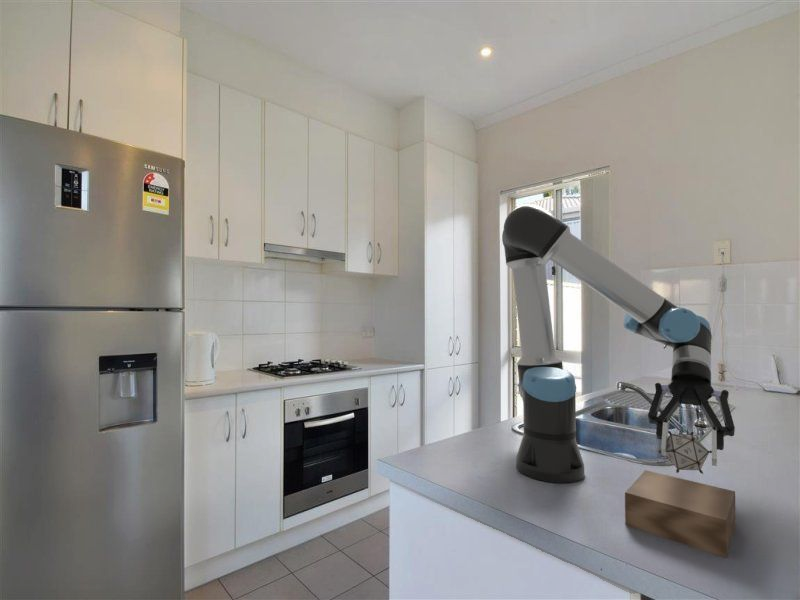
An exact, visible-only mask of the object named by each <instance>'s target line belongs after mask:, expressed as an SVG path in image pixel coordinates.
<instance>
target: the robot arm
mask: <svg viewBox="0 0 800 600" xmlns="http://www.w3.org/2000/svg"><path fill="white" fill-rule="evenodd" d="M501 237H502V239H501V240H502V241H501V242H502V245H503V248H504V256H505V264H506V266H507V267H508V268H510V269H511V270H512V277H513V278H512V279H513V286H514V295H515V296H514V297H515V304H516V312H517V323H518V333H519V340H520V341H519V342H520V351H521V357H520V359H518V360H517V363H516V365H517V372H518V386H517V387H518V393H519V395H520V397H521V400H522V402H523V403H522V405H523V407H522V408H523V411H522V412H523V414H522V415H523V436H522V439H521V442H520V445H519V448H518V451H517V453H516V456H515V459H516V460H515V463H516V464H515V466H516V469H517V470H518V472H520V473H522V475H524V476H526V477H529V478H532V479H535V480H538V481H544V482H548V483H560V484H561V483H562V484H563V483H574V482H578V481H580V480H582V479H583V478H584V477H585V463H584V460H583V457H582V453H581V451H580V448H579V445H578V443H577V435H576V431H577V429H576V424H577V423H576V420H577V419H576V417H577V416H576V406H577V405H576V393H577V384H576V378H575V376H574V375H573V374H572V372H570V371H568V370H566V369H564V367H563V360H562V358H560V357H559V356H558V355H557V353H556V350H555V341H554V333H553V332H554V331H553V324H552V314H551V305H550V297H549V290H548V289H549V287H548V281H547V279H548V278H547V271H546V265H547V264H548V262H549V261H550V260H551V261H552V262H553V263H554V264H556V265H557V266H559V267H561V269H563V270H565V271H566V272H568V274H571V275H572V276H573V277H574V278H576V279H578V280H579V281H580V282H581V283H583V284H584V285H585V286H587V287H589V289H591V290H593V291H594V292H596V293H597V294H599V295H600V296H601V297H603V299H606V300H607V301H608V302H609V303H611V304H613V306H615V307H616V308H618V309H620V310H621V311H623V312H624V313H625V317H624V319H623V328H625V329H626V330H627V331H629V332H630V331H631V332H632V333H634V334H635V335H636V334H637V335H639V336H642V337H644V338H647V339H649V340H653V341H654V342H658V343H660V344H662V345H664V346H668V347H670V348H672V349H673V350H672V363H671V365H672V367H671V381H670V382H669V383H668V384H661V383H660V382H656V383H655V384H654V386H655V387H654V388H655V393H654V396H653V399H652V402H651V405H650V407H649V411H648V414H647V419H648V423H649V424H652V425H653V424H654V425H655V426H656V430H655V435H656V439H658V440H661V444H660V451H661V453H660V454H661V456H663V457H666V448H667V440H668V434H669V433H668V431H669V430H668V429H669V427H668V422H669V420H670V419H671V417H673V415H674V414H675V412H676V411H677V409H678V408H680V406H682V405H692V406H694V407H695V406H697V407H699V408H700V410H701V411H702V413H703V414H704V415H705V418H706V419H707V421H708V423H709V425H710V427H711V428H712V429H711V450H712V453H711V466H714V467H717V466H718V464H717V463H718V454H717V452H718V451H719V450H720V451H723V450H724V449H725V448H724V447H725V442H724V441H725V440H724V439H725V438H724V437H726V436H727V437H734V436H735V431H736V426H735V424H734V420H733V416H732V413H731V409H730V405H729V391H728V390H726V389H723V390H721V391H720V390H719V391H718V390H715V389H714V388H713V387H712V355H711V354H712V337H713V334H712V330H711V324H710V322H709V321H708V320H707V319H706V318H705V317H703V316H700V315H697V314H696V313H695V312H693V311H692V310H691V309H688V308H684V307H679V306H676V305H675V304H674V303H672V302H671V301H669V300H667V299H666V298H665V297H663V296H662V295H661V294H659V293H657V292H656V291H655V290H653V288H650V286H648V285H646V284H645V283H643V282H642V281H640V280H639V279H637V278H636V277H635V276H633V275H631V274H630V273H629V272H628V271H626V270H624V269H623V268H621V267H620V266H619V265H617V264H616V263H614V262H613V261H611V260H610V259H608V258H607V257H605V256H604V255H603V254H601V253H600V252H598V251H597V250H595V248H593V247H591V246H590V245H589V244H587V243H585V242H584V241H582V240H581V239H580V238H578V237H577V236H576V235H574V234H572V232H571V228H570V226H569V225H568V224H566V223H565V222H563V221H562V220H560V219H559V218H557V217H556V216H555V215H554V214H552V213H550V212H549V211H547V210H546V209H545V208H542V207H541V206H538V205H535V204H524V205H520V206H518V207H516V208H515V209H513V210H512V211H511V212H510V213H508V215H507V216H506V218H505V221H504V223H503V230H502V236H501ZM667 392H669V393H670V394H671V395H672V397H671V399H670V400H669V402H668V403H667V405H665V407H664V409H663V410H662V411H661V413H660V414H659V411H660V407H661V405H662V401H663V398H664V397H663V396H665V395H666V394H667ZM712 397H714V398H715V400H716V401H717V402H718V403H719V407H720V412H721V415H722V420H723V423H724V425H722V423H721V422H720V420H719V418H718V417H717V415H716V413H715V412H714V410H713V407H711V405H710V402H709V400H710V399H711V398H712ZM658 414H659V415H658ZM717 450H718V451H717Z"/></svg>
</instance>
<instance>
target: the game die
mask: <svg viewBox="0 0 800 600" xmlns="http://www.w3.org/2000/svg"><path fill="white" fill-rule="evenodd" d="M668 434H669V436H668V437H667V448H666V456H665V457H666V458H667V459H668V461H670V462H671V464H673V466H674V467H675V468H676V469H675V472H676V474H678V473H679V472H680V470H682V471H683V470H685V471H699V473H700V474H702V475H704V472H703V470H702V467H703V466H704V464H705V463H706V459H707V458H708V456H709V454H712V449H711V450H708V449H707V448H706V447H705V446H704V445H703V444H702V443H701V442H700V441H699V440H698V439H697V438H696V437H695V436H694V434H695V432H694V431H691V432H690V434H688V433H687V434H685V433H684V434H682V433H672V432H671V431H670V430H668ZM657 453H659V454H662V453H661V449H660V450H658V451H657Z"/></svg>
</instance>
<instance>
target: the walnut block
mask: <svg viewBox="0 0 800 600" xmlns="http://www.w3.org/2000/svg"><path fill="white" fill-rule="evenodd" d="M736 509H737V507H736V491H735V490H731V489H727V488H723V487H717V486H715V485H709V484H705V483H702V482H697V481H693V480H688V479H684V478H679V477H676V476H671V475H667V474H663V473H659V472H655V471H650V470H646V469H645V470H644V471H643V472H642V473H641V474H640V475H639V476H638V477H637V479H636V480H634V482H633V483H632V484H631V485H630V486H629V487H628V488H627V490H625V492H624V519H625V521H624V525H625V526H628V527H629V528H634V529H636V530H640V531H643V532H646V533H649V534H652V535H653V536H654V535H655V536H658V537H661V538H663V539H664V538H665V539H668V540H670V541H674V542H677V543H679V544H683V545H685V546H689V547H691V548H694V549H698V550H701V551H704V552H706V553H710V554H712V555H715V556H719V557H722V558H725V559H728V556H729V552H730V548H731V544H732V541H733V536H734V534H735V533H734V532H735V528H736V526H737V525H736V524H737V517H736V516H737V514H736Z"/></svg>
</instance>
